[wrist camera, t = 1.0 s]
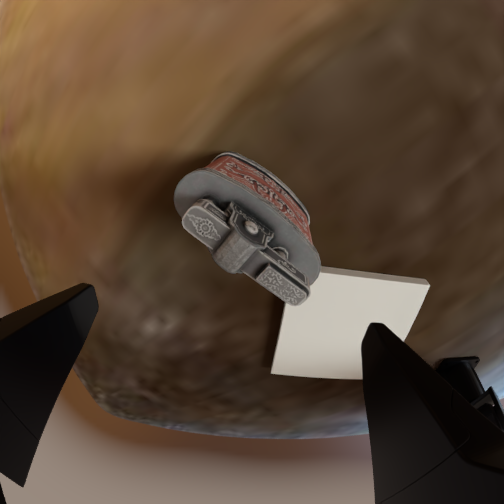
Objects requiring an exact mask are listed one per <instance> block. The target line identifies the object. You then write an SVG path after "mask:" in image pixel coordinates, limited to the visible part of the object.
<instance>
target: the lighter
mask: <svg viewBox="0 0 504 504" xmlns="http://www.w3.org/2000/svg"><path fill="white" fill-rule="evenodd" d="M174 204H175V208H176V210H177V212H178V213H179V215H180V216H181V217H182V225H183V227H184V229H185V230H187V231H188V232H189V233H190V234H192V235H193V236H194V237H196V238H197V239H198V240H200V241H201V242H202V243H204V244H205V245H206V246H208V250H209V252H210V253H211V255H212V258H213V260H214V261H215V262H216V263H217V265H219V266H220V267H221V268H223V269H224V270H225V271H227V272H229V273H234V274H235V273H243V272H244V273H245V274H246V275H248V276H249V277H251V278H252V279H253V280H255V281H256V282H258V283H259V284H260V285H262V286H263V287H265V288H266V289H267V290H269V291H270V292H272V293H273V294H274V295H276V296H277V297H279V298H280V299H282V300H283V301H284V302H286V303H287V304H289V305H291V306H299V305H301V304H302V303H304V302H305V301H306V300H307V299H308V298H309V296H310V294H311V291H310V286H311V285H312V284H313V283H314V282H315V281H316V279H317V278H318V276H319V273H320V271H321V262H320V258H319V254H318V252H317V250H316V248H315V247H314V246H313V243H312V239H311V234H310V230H309V223H310V218H309V213H308V211H307V209H306V207H305V206H304V205H303V204H302V202H301V201H300V200H299V199H298V198H297V196H296V195H295V194H294V193H293V192H292V191H291V190H290V189H289V188H288V187H287V186H286V185H285V184H284V183H283V182H282V181H281V180H280V179H279V178H277V177H276V176H275V175H274V174H272V173H271V172H269V171H268V170H266V169H265V168H263V167H262V166H260V165H259V164H257V163H256V162H254V161H252V160H250V159H248V158H246V157H244V156H242V155H240V154H238V153H235V152H232V151H229V152H224V153H222V154H220V155H218V156H216V157H215V158H214V159H213V160H212V162H211V163H210V164H209V165H207V166H206V167H204V168H199V169H196V170H194V171H192V172H191V173H189V174H187V175H186V176H185V177H184V178H183V179H182V180H181V181H180V182H179V183H178V185H177V187H176V190H175V193H174Z"/></svg>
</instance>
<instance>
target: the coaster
mask: <svg viewBox="0 0 504 504" xmlns="http://www.w3.org/2000/svg"><path fill="white" fill-rule="evenodd" d="M429 287H430V285H429V283H428V282H427V280H426V279H420V278H412V277H404V276H396V275H387V274H379V273H371V272H363V271H355V270H347V269H340V268H332V267H324V266H321V271H320V273H319V276H318V278H317V279H316V281H315V282H314V283H313V284H312V285H311V286H310V291H311V294H310V296H309V298H308V299H307V300H306V301H305V302H304V303H302V304H301V305H299V306H291V305H289V304H287V303H286V302H285V304H284V309H283V314H282V319H281V324H280V329H279V334H278V338H277V343H276V348H275V352H274V357H273V362H272V366H271V374H280V375H290V376H302V377H315V378H333V379H363V376H362V358H361V343H362V340H363V338H364V335H365V333H366V330H367V328H368V326H369V324H370V323H372V322H377V323H383V324H385V325H386V326H387V327H388V328H389V329H390V330H391V331H392V332H393V333H395V334H396V335H397V336H398V337H399V338H400V339H401V340H402V341H403V342H404V340H405V338H406V336H407V334H408V332H409V330H410V328H411V326H412V324H413V322H414V320H415V318H416V316H417V314H418V312H419V309H420V307H421V305H422V303H423V301H424V298H425V296H426V294H427V291H428V289H429Z"/></svg>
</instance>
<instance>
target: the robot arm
mask: <svg viewBox="0 0 504 504" xmlns="http://www.w3.org/2000/svg"><path fill="white" fill-rule="evenodd" d="M97 312H98V301H97V297H96V293H95V289H94V287H93V285H91V284H87V283H81V284H78V285H76V286H74V287H71V288H69V289H66V290H64V291H62V292H59V293H57V294H54V295H52V296H50V297H47V298H45V299H43V300H40V301H38V302H36V303H33V304H31V305H29V306H27V307H24V308H22V309H20V310H17V311H15V312H13V313H11V314H9V315H6V316H4V317H3V318H0V472H1V473H2V474H3V475H5V476H6V477H8V478H9V479H11V480H12V481H13V482H15V483H16V484H18V485H19V486H21V487H24V484H25V482H26V478H27V475H28V472H29V469H30V466H31V463H32V460H33V457H34V455H35V452H36V449H37V446H38V444H39V440H40V438H41V436H42V433H43V431H44V428H45V425H46V423H47V421H48V418H49V416H50V414H51V412H52V409H53V407H54V405H55V402H56V400H57V398H58V396H59V394H60V391H61V389H62V387H63V385H64V383H65V381H66V379H67V377H68V375H69V373H70V370H71V369H72V367H73V365H74V363H75V361H76V359H77V357H78V355H79V353H80V351H81V349H82V347H83V345H84V342H85V340H86V338H87V335H88V333H89V330H90V328H91V326H92V323H93V321H94V319H95V316H96V314H97ZM361 358H362V376H363V391H364V399H365V405H366V413H367V420H368V428H369V436H370V445H371V454H372V465H373V476H374V490H375V491H374V492H375V504H504V409H503V407H502V405H501V403H500V400H499V398H498V396H497V395H496V393H495V391H494V390H493V388H492V387H489V388H488V390H487V391H485V390H484V388H483V386H482V384H481V382H480V380H479V378H478V376H477V374H476V372H475V370H474V368H475V367H476V365H477V364H478V362H479V361H480V359H479V357H470V358H455V359H445V360H444V361H443V362H442V363H441V365H440V366H439V368H438V369H437V371H435V370H434V369H433V368H432V367H431V366H430V365H428V364H427V363H426V362H425V361H424V360H423V359H422V358H421V357H420V356H419V355H418V354H417V353H415V352H414V351H413V350H412V349H411V348H410V347H409V346H408V345H407V344H406V343H405V342H403V341H402V340H401V339H400V338H399V337H398V336H397V335H396V334H395V333H393V332H392V331H391V330H390V329H389V328H388V327H387V326H386V325H385V324H383V323H377V322H372V323H370V324H369V326H368V328H367V330H366V333H365V335H364V338H363V340H362V343H361ZM492 405H495V406H492ZM0 504H6V501H5V497H4V494H3V491H2V487H1V484H0Z"/></svg>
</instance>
